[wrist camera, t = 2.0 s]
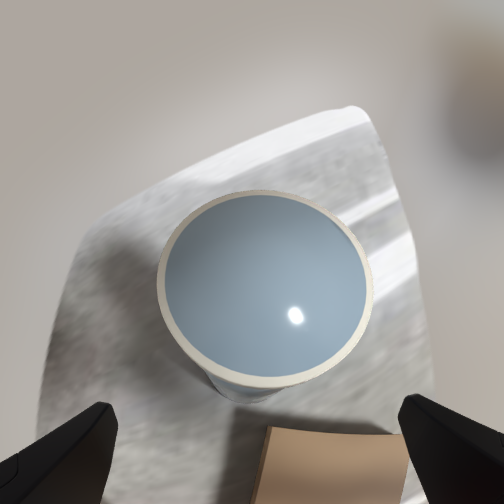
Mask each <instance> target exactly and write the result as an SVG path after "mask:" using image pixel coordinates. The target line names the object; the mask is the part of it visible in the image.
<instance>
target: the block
mask: <svg viewBox="0 0 504 504" xmlns="http://www.w3.org/2000/svg"><path fill="white" fill-rule="evenodd" d="M409 457H410V456H409V453H408V450H407V447H406V443H405V440H404V437H403V434H391V435H365V434H340V433H325V432H314V431H304V430H295V429H287V428H280V427H273V426H267V431H266V436H265V440H264V445H263V449H262V454H261V458H260V462H259V467H258V471H257V475H256V480H255V484H254V488H253V492H252V496H251V500H250V504H399V503H400V499H401V495H402V491H403V487H404V482H405V478H406V473H407V468H408V462H409Z"/></svg>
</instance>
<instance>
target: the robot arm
mask: <svg viewBox="0 0 504 504" xmlns="http://www.w3.org/2000/svg"><path fill="white" fill-rule="evenodd" d="M398 421H399V424H400V427H401V431H402V434H403V437H404V440H405V443H406V447H407V450H408V453H409V456H410V458H411V461H412V463H413V466H414V468H415V470H416V473H417V475H418V477H419V480H420V482H421V485H422V487H423V490H424V492H425V495H426V497H427V500H428V502H429V504H504V434H503V433H501V432H497V431H496V430H494V429H491V428H489V427H487V426H485V425H482V424H480V423H478V422H476V421H474V420H471V419H469V418H467V417H465V416H463V415H461V414H459V413H456V412H454V411H452V410H450V409H448V408H446V407H444V406H442V405H440V404H438V403H436V402H434V401H432V400H430V399H428V398H426V397H424V396H422V395H420V394H412V395H408V396H406V397H405V399H404V401H403V403H402V406H401V408H400V411H399V413H398ZM117 431H118V421H117V418H116V416H115V413H114V410H113V407H112V405H111V404H109V403H105V402H97V403H95V404H93V405H92V406H90V407H89V408H87V409H86V410H84V411H83V412H81V413H80V414H78V415H77V416H75V417H74V418H72V419H71V420H69V421H67V422H66V423H64V424H63V425H61V426H60V427H58V428H57V429H55V430H53V431H52V432H50V433H49V434H47V435H45V436H44V437H42V438H41V439H39V440H37V441H36V442H34V443H33V444H31V445H29V446H28V447H26V448H25V449H23V450H21V451H20V452H19V453H16V454H14V455H13V456H11V457H9V458H8V459H6V460H4V461H2V462H1V463H0V504H100V502H101V499H102V495H103V492H104V488H105V485H106V482H107V478H108V475H109V472H110V468H111V463H112V458H113V452H114V447H115V441H116V436H117Z"/></svg>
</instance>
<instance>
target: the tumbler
mask: <svg viewBox="0 0 504 504" xmlns="http://www.w3.org/2000/svg"><path fill="white" fill-rule="evenodd" d="M157 295H158V302H159V306H160V309H161V313H162V316H163V318H164V320H165V323H166V325H167V327H168V329H169V330H170V332H171V334H172V335H173V337H174V338H175V340H176V341H177V343H178V344H179V345H180V347H181V348H182V349H183V351H184V352H185V353H186V354H187V355H188V356H189V357H190V359H191V360H192V361H194V362H195V363H196V364H197V365H198V366H200V367H201V368H202V369H203V370H204V371H205V373H206V374H207V376H208V377H209V379H210V380H211V382H212V383H213V385H214V386H215V388H216V389H217V390H218V391H219V392H220V393H221V394H222V395H223V396H224V397H226V398H228V399H229V400H232V401H234V402H237V403H243V404H253V403H258V402H261V401H264V400H266V399H268V398H269V397H271V396H273V395H274V394H276V393H278V392H279V391H281V390H283V389H284V388H287V387H292V386H295V385H298V384H302V383H304V382H306V381H309V380H311V379H313V378H315V377H317V376H319V375H321V374H322V373H324V372H326V371H327V370H329V369H330V368H332V367H333V366H335V365H336V364H338V363H339V362H340V361H341V360H342V359H343V358H344V357H346V356H347V355H348V354H349V353H350V351H351V350H352V349H353V348H354V346H355V345H356V344H357V343H358V341H359V339H360V338H361V336H362V334H363V333H364V331H365V329H366V326H367V324H368V321H369V318H370V314H371V310H372V306H373V295H374V291H373V278H372V273H371V268H370V265H369V263H368V260H367V257H366V255H365V253H364V251H363V249H362V247H361V245H360V243H359V242H358V240H357V239H356V237H355V236H354V235H353V233H352V232H351V231H350V230H349V229H348V227H347V226H346V225H345V224H344V223H343V222H342V221H340V220H339V219H338V218H337V217H336V216H334V215H333V214H332V213H331V212H329V211H328V210H326V209H325V208H323V207H321V206H320V205H318V204H316V203H314V202H312V201H310V200H307V199H305V198H302V197H299V196H296V195H293V194H289V193H285V192H278V191H269V190H251V191H243V192H236V193H233V194H229V195H225V196H222V197H220V198H217V199H214V200H212V201H210V202H208V203H206V204H204V205H203V206H201V207H200V208H198V209H197V210H195V211H194V212H192V213H191V214H190V215H189V216H188V217H186V218H185V219H184V220H183V221H182V222H181V223H180V225H179V226H178V227H177V228H176V229H175V231H174V232H173V233H172V235H171V236H170V238H169V239H168V241H167V243H166V245H165V247H164V249H163V252H162V255H161V258H160V261H159V266H158V271H157Z"/></svg>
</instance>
